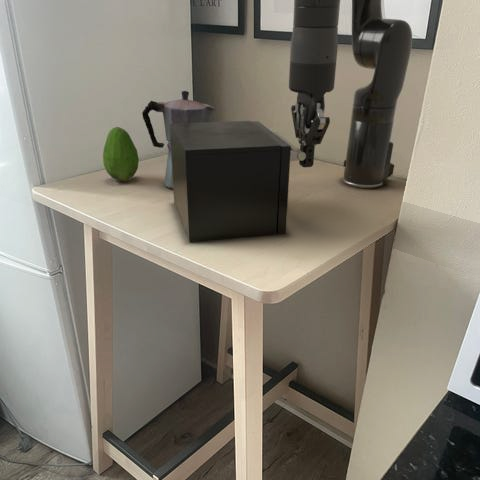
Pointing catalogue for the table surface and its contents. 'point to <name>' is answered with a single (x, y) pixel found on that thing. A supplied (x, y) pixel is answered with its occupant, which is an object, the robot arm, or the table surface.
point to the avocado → (120, 155)
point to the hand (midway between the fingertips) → (306, 165)
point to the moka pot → (175, 122)
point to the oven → (225, 180)
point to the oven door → (283, 173)
